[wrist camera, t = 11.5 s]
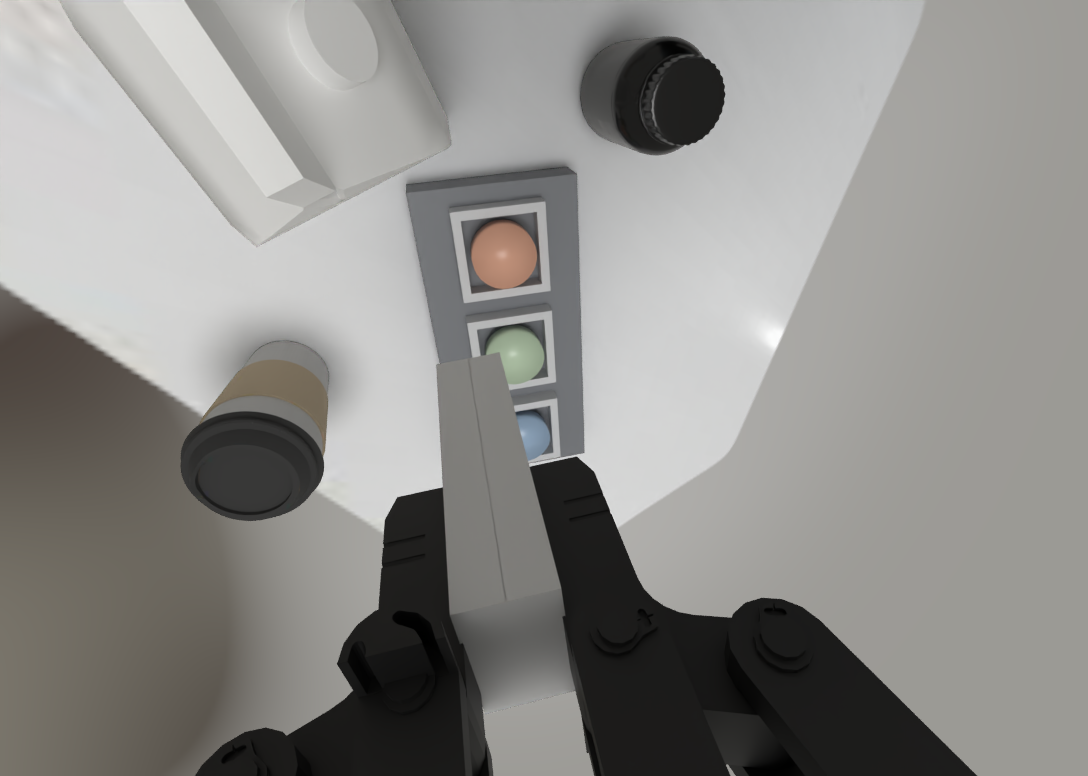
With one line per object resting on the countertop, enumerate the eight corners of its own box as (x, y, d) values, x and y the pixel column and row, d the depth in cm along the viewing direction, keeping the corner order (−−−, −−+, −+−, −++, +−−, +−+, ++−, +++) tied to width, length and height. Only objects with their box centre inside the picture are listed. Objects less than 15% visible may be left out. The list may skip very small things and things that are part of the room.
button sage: (538, 321, 46) (542, 329, 44) (542, 370, 48) (546, 379, 47) (481, 329, 45) (483, 338, 44) (488, 379, 48) (490, 388, 46)
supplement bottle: (668, 123, 43) (746, 144, 33) (590, 153, 43) (645, 183, 33) (653, 25, 39) (736, 16, 29) (568, 58, 39) (621, 60, 29)
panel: (567, 166, 43) (582, 177, 39) (577, 435, 58) (588, 461, 55) (406, 184, 41) (405, 197, 37) (459, 457, 56) (463, 486, 53)
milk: (192, 9, 33) (-203, -71, 12) (352, -78, 33) (243, -330, 11) (313, 189, 40) (200, 345, 19) (447, 118, 39) (492, 196, 18)
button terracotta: (530, 215, 41) (534, 221, 39) (535, 277, 43) (539, 284, 42) (466, 223, 40) (467, 229, 39) (474, 285, 43) (476, 293, 41)
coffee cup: (351, 343, 47) (330, 446, 35) (332, 424, 51) (307, 542, 39) (238, 318, 44) (170, 422, 32) (227, 406, 48) (163, 529, 35)
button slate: (544, 406, 50) (548, 415, 49) (548, 446, 53) (551, 456, 52) (493, 415, 50) (495, 424, 48) (499, 455, 53) (501, 465, 51)
